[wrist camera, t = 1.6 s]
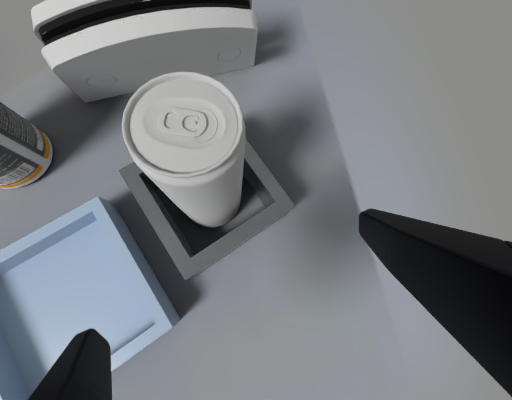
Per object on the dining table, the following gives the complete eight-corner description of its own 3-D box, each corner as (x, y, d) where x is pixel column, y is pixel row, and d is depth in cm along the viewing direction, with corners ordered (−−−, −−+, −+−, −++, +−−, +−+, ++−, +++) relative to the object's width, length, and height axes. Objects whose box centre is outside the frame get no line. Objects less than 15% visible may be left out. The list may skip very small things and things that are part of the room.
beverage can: (236, 232, 20) (238, 188, 9) (178, 224, 20) (101, 170, 9) (243, 177, 22) (253, 78, 10) (188, 170, 21) (134, 59, 10)
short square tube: (285, 214, 21) (294, 205, 18) (193, 277, 19) (184, 280, 16) (227, 134, 23) (226, 111, 19) (137, 185, 21) (118, 170, 17)
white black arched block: (241, 27, 26) (260, -67, 16) (253, 72, 27) (279, 9, 17) (73, 58, 23) (-26, -30, 14) (90, 108, 24) (8, 58, 14)
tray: (180, 319, 18) (172, 327, 16) (38, 421, 16) (3, 449, 14) (114, 204, 20) (97, 196, 18) (-23, 282, 18) (-63, 285, 16)
